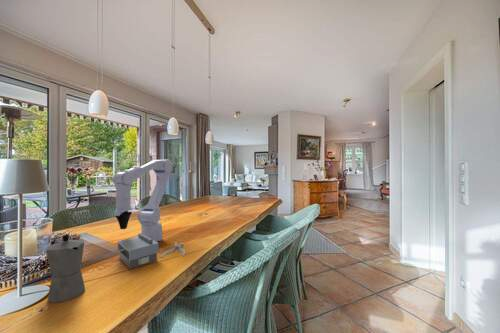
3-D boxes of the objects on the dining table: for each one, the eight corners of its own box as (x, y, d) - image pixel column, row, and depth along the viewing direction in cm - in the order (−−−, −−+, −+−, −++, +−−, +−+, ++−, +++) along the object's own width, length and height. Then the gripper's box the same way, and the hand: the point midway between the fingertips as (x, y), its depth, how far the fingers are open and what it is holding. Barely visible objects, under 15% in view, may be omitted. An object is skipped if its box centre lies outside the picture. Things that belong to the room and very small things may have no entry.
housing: (144, 251, 101) (143, 244, 101) (157, 260, 90) (157, 253, 90) (119, 258, 94) (119, 250, 94) (130, 269, 83) (130, 261, 83)
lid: (144, 243, 101) (144, 231, 101) (158, 252, 90) (158, 239, 90) (117, 250, 94) (117, 237, 94) (129, 260, 82) (129, 246, 82)
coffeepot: (96, 291, 68) (94, 233, 68) (58, 309, 60) (56, 242, 60) (71, 280, 76) (69, 227, 76) (34, 294, 67) (32, 235, 67)
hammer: (160, 255, 93) (168, 242, 108) (160, 259, 93) (168, 246, 108) (184, 253, 94) (189, 241, 109) (184, 257, 94) (189, 244, 109)
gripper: (126, 200, 94) (127, 232, 94) (138, 196, 109) (138, 224, 109) (108, 201, 93) (108, 233, 93) (122, 197, 108) (122, 225, 107)
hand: (123, 228), depth 101 cm, fingers closed
